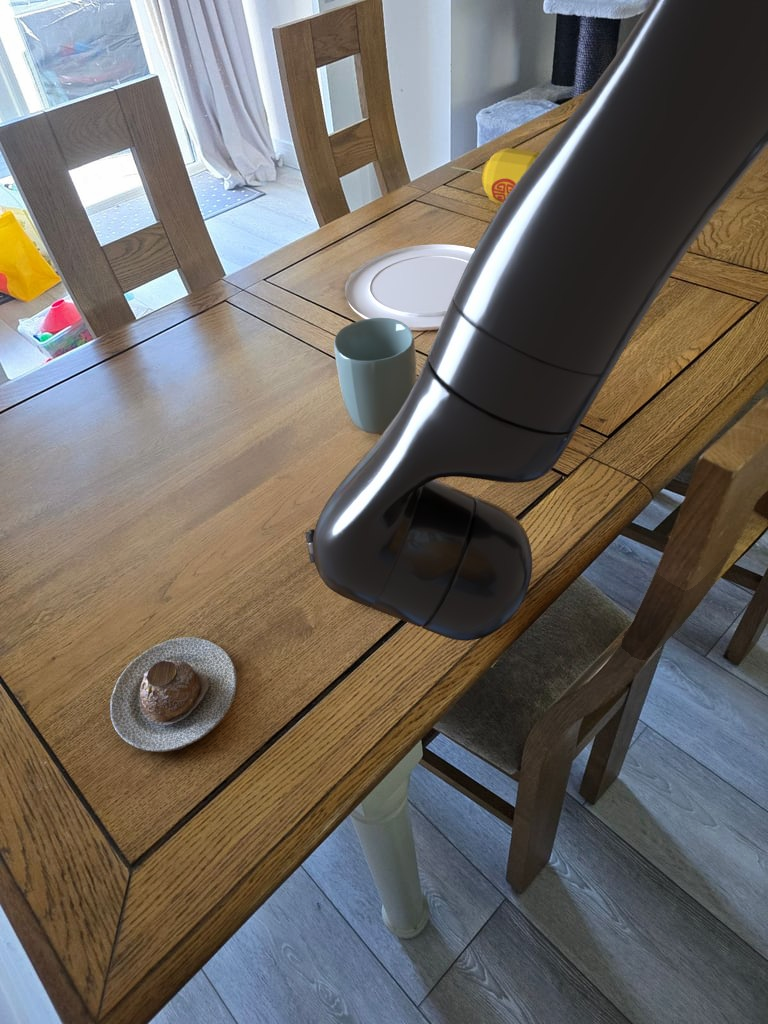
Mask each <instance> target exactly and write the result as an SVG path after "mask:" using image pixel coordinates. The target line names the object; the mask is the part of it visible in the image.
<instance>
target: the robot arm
mask: <svg viewBox="0 0 768 1024" xmlns="http://www.w3.org/2000/svg"><path fill="white" fill-rule="evenodd" d="M767 147H768V0H650V2H649V3H648V5H647V6H646V8H645V10H644V12H643V13H642V15H641V16H640V18H639V19H638V20H637V22H636V24H635V25H634V27H633V28H632V30H631V32H630V33H629V35H628V36H627V37H626V39H625V41H624V42H623V44H622V45H621V47H620V48H619V50H618V52H617V53H616V55H615V56H614V57H613V58H612V60H611V61H610V63H609V65H608V66H607V67H606V69H605V70H604V71H603V72H602V74H601V76H600V77H599V78H598V79H597V81H596V82H595V84H594V85H593V86H592V88H591V89H590V90H589V92H588V93H587V94H586V96H585V97H584V98H583V100H582V101H581V102H580V104H579V105H578V106H577V107H576V109H575V110H574V111H573V112H572V114H571V115H570V116H569V117H568V119H567V120H566V121H565V122H564V123H563V125H562V126H561V127H560V128H559V129H558V131H557V132H556V133H555V134H554V135H553V137H552V138H551V139H550V141H549V142H548V143H547V144H546V146H545V147H544V148H543V149H542V150H541V152H539V153H540V154H539V156H538V157H537V158H536V159H535V161H534V162H533V163H532V164H531V166H530V167H529V168H528V169H527V171H526V172H525V173H524V174H523V176H522V177H521V178H520V180H519V181H518V182H517V184H516V185H515V186H514V188H513V189H512V191H511V192H510V193H509V195H508V196H507V198H506V199H505V201H504V202H503V203H502V204H500V206H499V208H498V209H497V210H496V212H495V214H494V216H493V217H492V219H491V220H490V222H489V224H488V225H487V227H486V228H485V230H484V232H483V233H482V236H481V237H480V239H479V241H478V242H477V245H476V246H475V248H474V249H475V250H474V252H473V254H472V256H471V258H470V260H469V262H468V264H467V266H466V268H465V270H464V272H463V275H462V277H461V279H460V281H459V284H458V286H457V288H456V291H455V293H454V296H453V298H452V300H451V302H450V305H449V307H448V309H447V312H446V314H445V316H444V319H443V321H442V323H441V326H440V328H439V329H437V333H436V335H435V337H434V340H433V343H432V345H431V347H430V349H429V352H428V355H427V357H426V359H425V361H424V363H423V365H422V368H421V370H420V372H419V374H418V375H417V380H416V382H415V384H414V386H413V388H412V390H411V392H410V394H409V396H408V397H407V399H406V401H405V402H404V404H403V406H402V407H401V409H400V410H399V412H398V413H397V415H396V416H395V418H394V419H393V420H392V422H391V423H390V425H389V426H388V427H387V429H386V430H385V432H384V433H383V434H381V436H380V437H379V438H378V439H377V440H376V442H375V443H374V444H373V445H372V446H371V448H370V449H369V450H368V451H367V452H366V453H365V454H364V455H363V457H362V458H361V459H360V460H359V461H358V462H357V463H356V464H355V466H353V468H352V469H351V470H350V471H349V473H347V475H346V476H345V477H344V478H343V479H342V480H341V482H340V483H339V484H338V486H337V488H336V489H335V490H334V491H333V493H332V494H331V496H330V497H329V498H328V500H327V501H326V503H325V505H324V506H323V508H322V510H321V511H320V514H319V516H318V519H317V520H316V521H317V522H316V524H315V528H313V529H309V530H308V531H306V532H304V534H305V539H306V545H307V551H308V557H309V562H310V564H314V565H315V568H316V571H317V573H318V575H319V577H320V579H321V580H322V581H323V583H324V585H325V586H326V587H327V588H328V589H329V590H331V591H332V592H334V593H336V594H338V595H339V596H340V597H342V598H345V599H347V600H350V601H352V602H355V603H357V604H359V605H362V606H365V607H367V608H371V609H373V610H375V611H377V612H381V613H383V614H385V615H388V616H391V617H393V618H395V619H398V620H401V621H403V622H406V623H408V624H411V625H413V626H416V627H418V628H422V629H423V630H425V631H428V632H430V633H434V634H436V635H438V636H440V637H444V638H447V639H451V640H456V641H462V642H463V641H464V642H465V641H475V640H481V639H483V638H486V637H488V636H490V635H492V634H494V633H496V632H498V631H499V630H500V629H502V628H503V627H504V626H505V625H506V624H507V623H508V622H509V621H511V619H512V618H513V616H515V614H516V613H517V612H518V611H519V609H520V608H521V605H522V604H523V602H524V600H525V598H526V595H527V593H528V590H529V587H530V583H531V580H532V574H533V555H532V554H533V553H532V547H531V543H530V539H529V537H528V534H527V532H526V529H525V528H524V526H523V524H522V523H521V522H520V521H519V520H518V519H517V517H516V516H515V515H513V513H511V512H510V511H508V510H507V509H505V508H503V507H502V506H499V505H498V504H495V503H494V502H491V501H488V500H486V499H483V498H481V497H478V496H475V495H474V496H473V494H471V493H469V492H467V491H464V490H461V489H459V488H456V487H454V486H452V485H449V484H447V483H444V482H442V481H439V480H437V479H442V478H452V477H453V478H468V479H477V480H483V481H491V482H498V483H507V484H523V483H530V482H533V481H536V480H538V479H540V478H542V477H544V476H545V475H547V474H548V473H549V472H550V471H551V470H552V469H553V468H554V467H555V465H557V463H558V462H559V461H560V459H561V457H562V456H563V454H564V453H565V451H566V449H567V448H568V447H569V444H570V443H571V442H572V439H573V438H574V436H575V434H576V433H577V431H578V429H579V427H580V426H581V424H582V423H583V421H584V419H585V418H586V416H587V415H588V412H589V411H590V409H591V407H592V406H593V404H594V403H595V401H596V399H597V397H598V396H599V394H600V392H601V390H602V389H603V387H604V386H605V384H606V382H607V380H608V379H609V377H610V375H611V374H612V373H613V371H614V369H615V367H616V365H617V363H618V361H619V360H620V358H621V356H622V355H623V353H624V351H625V350H626V347H627V346H628V344H629V342H630V341H631V339H632V338H633V335H634V334H635V332H636V331H637V329H638V327H639V326H640V324H641V322H642V321H643V320H644V317H645V316H646V314H647V313H648V311H649V310H650V308H651V307H652V305H653V304H654V302H655V301H656V299H657V297H658V295H659V294H660V292H662V290H663V287H664V286H665V285H666V283H667V282H668V280H669V279H670V277H671V276H672V274H673V273H674V271H675V270H676V268H677V267H678V265H680V263H681V262H682V260H683V259H684V257H685V255H686V254H687V252H688V251H689V249H690V248H691V247H692V246H693V244H694V242H695V241H696V240H697V238H698V237H699V236H700V234H702V232H703V230H704V229H705V228H706V226H707V225H708V224H709V222H710V221H711V220H712V218H713V217H714V215H715V214H716V213H717V211H718V210H719V209H720V207H722V205H723V204H724V202H725V201H726V200H727V198H728V197H729V196H730V195H731V193H732V192H733V190H734V189H735V188H736V187H737V186H738V184H739V183H740V182H741V180H742V179H743V177H745V175H746V174H747V172H748V171H749V170H750V169H751V167H752V166H753V165H754V163H755V162H756V161H757V160H758V159H759V157H761V155H762V153H763V152H764V151H765V150H766V148H767Z"/></svg>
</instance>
